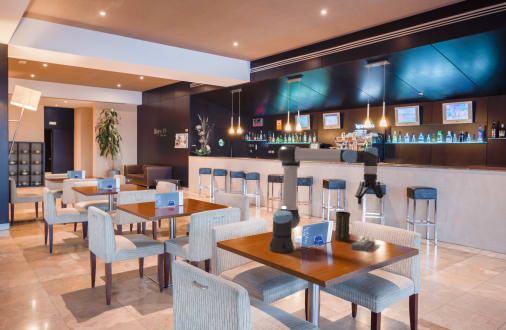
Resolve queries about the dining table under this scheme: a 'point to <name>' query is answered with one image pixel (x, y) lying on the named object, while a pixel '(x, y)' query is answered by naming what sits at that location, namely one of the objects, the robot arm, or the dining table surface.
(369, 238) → the tile
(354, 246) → the grey dice tray
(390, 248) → the dining table surface
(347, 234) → the beer stein
